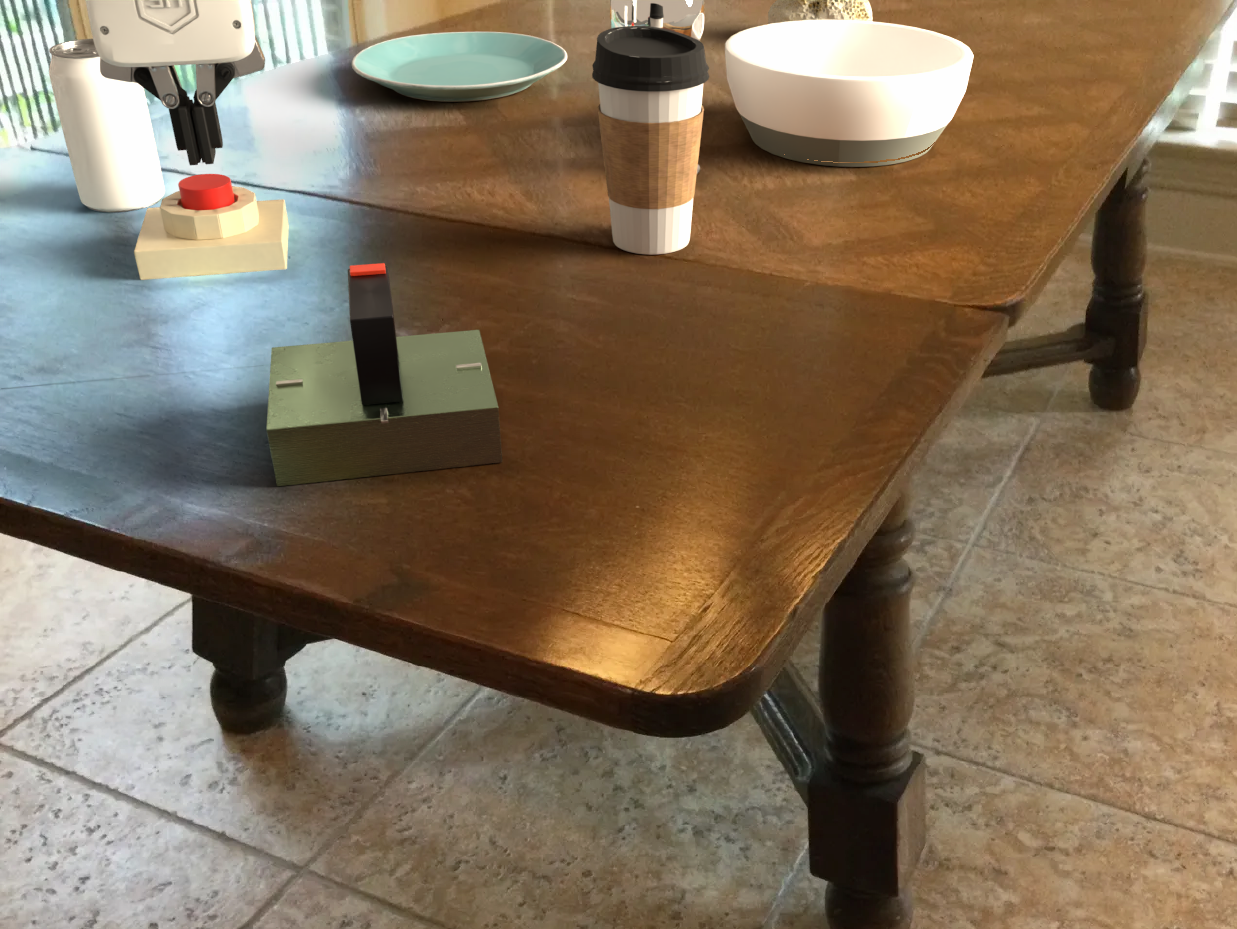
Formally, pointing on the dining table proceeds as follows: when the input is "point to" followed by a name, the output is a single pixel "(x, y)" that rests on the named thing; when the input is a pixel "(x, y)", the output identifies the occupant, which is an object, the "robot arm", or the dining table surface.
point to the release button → (206, 192)
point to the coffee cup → (650, 133)
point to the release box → (213, 238)
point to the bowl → (845, 89)
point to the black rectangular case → (374, 334)
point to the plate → (459, 64)
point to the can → (105, 132)
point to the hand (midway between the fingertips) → (202, 158)
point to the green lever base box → (381, 411)
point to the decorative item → (819, 10)
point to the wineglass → (661, 17)
